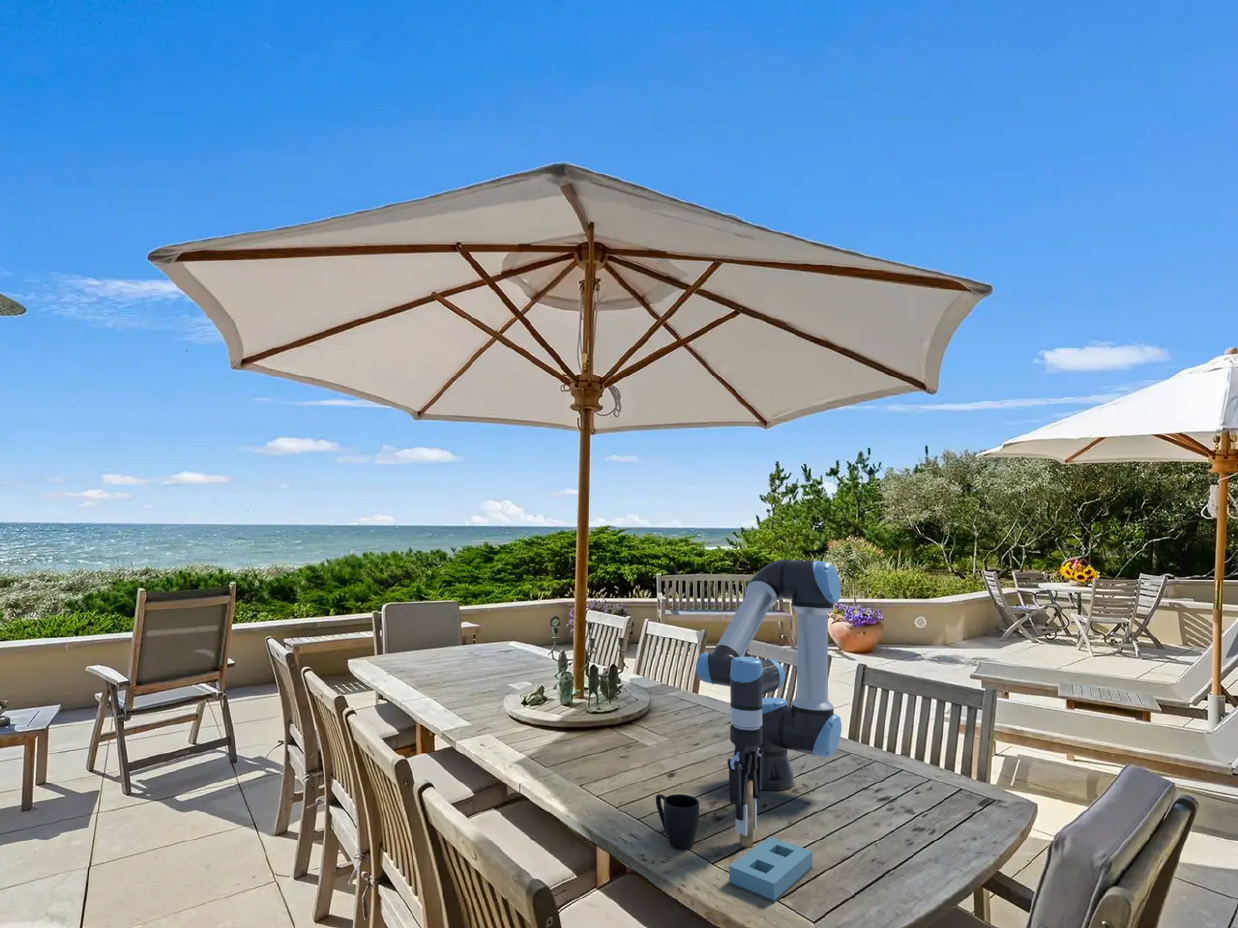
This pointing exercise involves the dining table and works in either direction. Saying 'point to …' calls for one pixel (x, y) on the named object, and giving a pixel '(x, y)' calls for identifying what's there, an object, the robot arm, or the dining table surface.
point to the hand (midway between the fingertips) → (746, 829)
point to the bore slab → (770, 869)
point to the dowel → (748, 817)
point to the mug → (679, 819)
